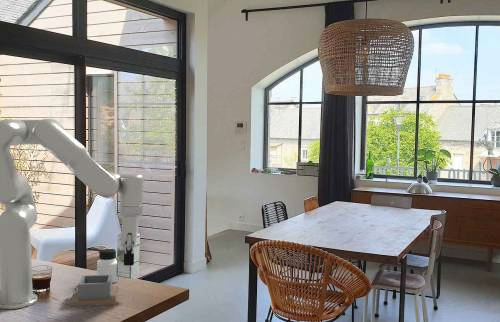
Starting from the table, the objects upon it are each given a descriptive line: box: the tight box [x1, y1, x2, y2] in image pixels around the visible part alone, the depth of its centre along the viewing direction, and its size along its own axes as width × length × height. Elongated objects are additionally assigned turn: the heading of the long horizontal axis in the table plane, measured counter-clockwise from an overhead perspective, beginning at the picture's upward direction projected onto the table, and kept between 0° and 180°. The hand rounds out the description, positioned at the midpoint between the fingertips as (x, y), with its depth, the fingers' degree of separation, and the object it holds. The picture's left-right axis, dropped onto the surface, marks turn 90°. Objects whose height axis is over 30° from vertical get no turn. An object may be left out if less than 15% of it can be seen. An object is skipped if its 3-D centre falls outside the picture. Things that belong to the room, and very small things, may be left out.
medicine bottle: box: [96, 247, 119, 284], centre depth 187 cm, size 7×7×12 cm
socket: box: [70, 274, 120, 307], centre depth 168 cm, size 14×14×6 cm
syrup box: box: [116, 232, 141, 279], centre depth 168 cm, size 6×6×14 cm
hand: (129, 261), depth 168 cm, fingers closed on syrup box, 7 cm apart
